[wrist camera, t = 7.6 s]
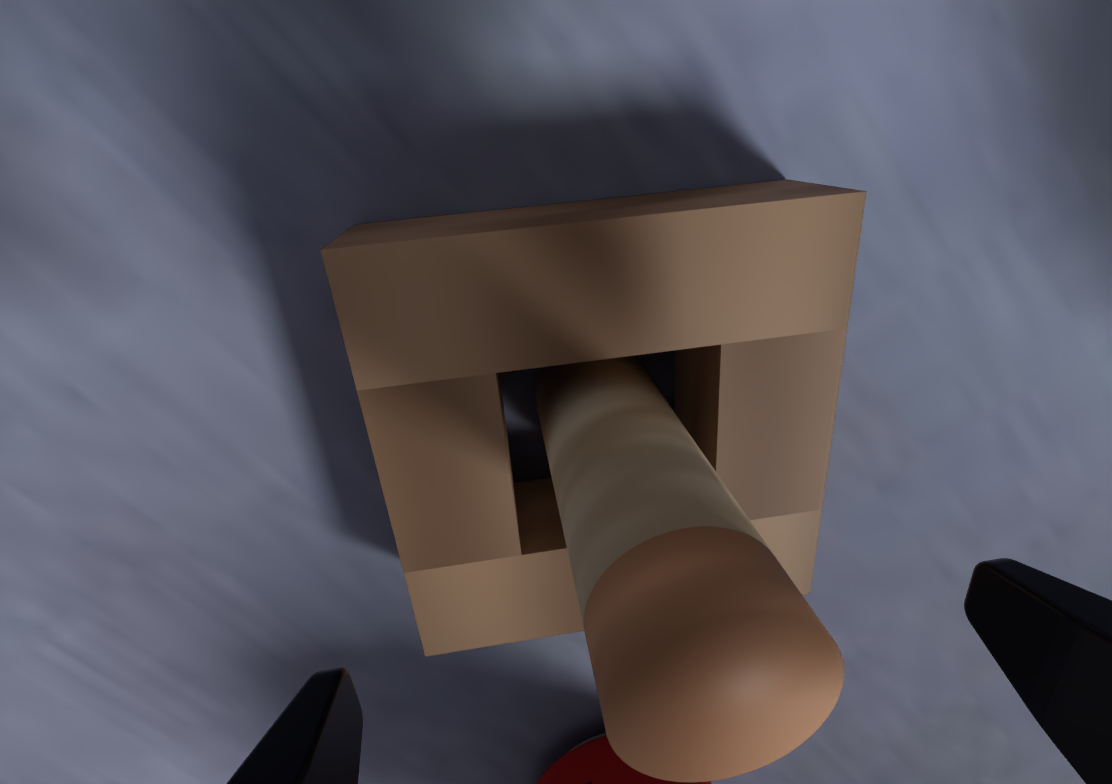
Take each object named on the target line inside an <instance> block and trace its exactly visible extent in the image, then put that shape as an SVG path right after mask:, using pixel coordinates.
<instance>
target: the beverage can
mask: <svg viewBox="0 0 1112 784" xmlns="http://www.w3.org/2000/svg"><path fill="white" fill-rule="evenodd" d="M536 784H711V781H708V782H674V781H666V780H662V779H658V778H654V777H651V776H648V775H645V774H643V773H641V772H639V771H637V770H635V769H633V768H632V767H630V766H629V765H627V764H626V763H625V762H623V761H622V759H621V758H620V757H619V756H618V755H617V754H616V753H615V751H614V750H613V748H612V747H611V745H610V743H609V740H608V738H607V735H606V733H603V734H600V735H597V736H594V737H591V738H589V739H587V740H585V741H583V742H581V743H579V744H578V745H576V746H575V747H573V748H572V749H571V750H569V751H568V752H567V753H566V754H565V755H563V756H562V757H560V758H559V759H558V760H557V761H555V762H554V763H553V764H552V765H551V766H550V767H549V768H548V769H547V770H546V771H545V772H544V773H543V775H542V776H541V777H540V779H539V780H538V782H537V783H536Z"/></svg>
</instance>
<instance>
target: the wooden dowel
mask: <svg viewBox="0 0 1112 784" xmlns="http://www.w3.org/2000/svg"><path fill="white" fill-rule="evenodd" d="M536 405H537V410H538V415H539V420H540V424H541V429H542V434H543V438H544V443H545V448H546V453H547V457H548V462H549V467H550V471H551V476H552V481H553V485H554V490H555V495H556V500H557V504H558V509H559V514H560V518H561V523H562V528H563V532H564V537H565V542H566V547H567V551H568V556H569V561H570V565H571V570H572V575H573V579H574V584H575V589H576V594H577V598H578V603H579V608H580V612H581V617H582V622H583V626H584V631H585V636H586V641H587V645H588V650H589V655H590V659H591V664H592V669H593V673H594V678H595V683H596V688H597V692H598V697H599V702H600V706H601V711H602V716H603V720H604V725H605V730H606V735H607V738H608V740H609V743H610V745H611V747H612V748H613V750H614V751H615V753H616V754H617V755H618V756H619V757H620V758H621V759H622V761H623V762H625V763H626V764H627V765H629V766H630V767H632V768H633V769H635V770H637V771H639V772H641V773H643V774H645V775H648V776H651V777H654V778H658V779H662V780H666V781H674V782H708V781H715V780H722V779H726V778H730V777H735V776H738V775H741V774H745V773H748V772H751V771H753V770H756V769H758V768H761V767H763V766H765V765H767V764H770V763H772V762H774V761H776V760H778V759H779V758H781V757H783V756H784V755H786V754H788V753H789V752H791V751H792V750H794V749H795V748H796V747H798V746H799V745H801V744H802V743H803V742H804V741H805V740H807V739H808V738H809V737H810V736H811V735H812V734H813V733H814V732H815V731H816V730H817V729H818V728H819V727H820V726H821V725H822V724H823V722H824V721H825V720H826V719H827V717H828V716H829V715H830V713H831V711H832V710H833V708H834V707H835V705H836V703H837V700H838V698H839V696H840V693H841V690H842V686H843V681H844V663H843V659H842V655H841V652H840V650H839V648H838V646H837V645H836V643H835V641H834V640H833V638H832V637H831V636H830V634H829V633H828V631H827V630H826V628H825V627H824V626H823V624H822V623H821V621H820V620H819V618H818V617H817V616H816V614H815V613H814V611H813V610H812V608H811V607H810V606H809V604H808V603H807V601H806V600H805V598H804V597H803V596H802V594H801V593H800V591H799V590H798V588H797V587H796V586H795V584H794V583H793V581H792V580H791V578H790V577H789V576H788V574H787V573H786V571H785V570H784V568H783V567H782V566H781V564H780V563H779V561H778V560H777V558H776V557H775V556H774V554H773V553H772V551H771V550H770V548H769V547H768V546H767V544H766V543H765V541H764V540H763V538H762V537H761V536H760V534H759V533H758V531H757V530H756V528H755V527H754V526H753V524H752V523H751V521H750V520H749V518H748V517H747V516H746V514H745V513H744V511H743V510H742V508H741V507H740V506H739V504H738V503H737V501H736V500H735V498H734V497H733V496H732V494H731V493H730V491H729V490H728V488H727V487H726V486H725V484H724V483H723V481H722V480H721V478H720V477H719V476H718V474H717V473H716V471H715V470H714V468H713V467H712V466H711V464H710V463H709V461H708V460H707V458H706V457H705V456H704V454H703V453H702V451H701V450H700V448H699V447H698V446H697V444H696V443H695V441H694V440H693V438H692V437H691V436H690V434H689V433H688V431H687V430H686V428H685V427H684V426H683V424H682V423H681V421H680V420H679V418H678V417H677V416H676V414H675V413H674V411H673V410H672V409H671V407H670V406H669V404H668V403H667V401H666V400H665V399H664V397H663V396H662V394H661V393H660V391H659V390H658V389H657V387H656V386H655V384H654V383H653V381H652V380H651V379H650V377H649V376H648V374H647V373H646V371H645V370H644V369H643V367H642V366H641V364H640V363H639V362H638V360H637V359H636V358H635V357H634V356H626V357H618V358H610V359H602V360H594V361H587V362H579V363H571V364H563V365H555V366H547V367H546V368H545V369H544V371H543V373H542V374H541V376H540V379H539V381H538V385H537V389H536Z"/></svg>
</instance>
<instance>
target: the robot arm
mask: <svg viewBox="0 0 1112 784" xmlns="http://www.w3.org/2000/svg"><path fill="white" fill-rule="evenodd" d="M964 609H965V613H966V616H967V618H968V620H969V622H970V623H971V625H972V626H973V628H974V629H975V631H976V632H977V634H978V635H979V637H980V638H981V640H982V641H983V643H984V644H985V646H986V647H987V648H988V650H989V651H990V653H991V654H992V656H993V657H994V659H995V660H996V662H997V663H998V665H999V666H1000V668H1001V669H1002V671H1003V672H1004V674H1005V675H1006V677H1007V678H1008V680H1009V681H1010V683H1011V684H1012V686H1013V687H1014V688H1015V690H1016V691H1017V693H1018V694H1019V696H1020V697H1021V699H1022V700H1023V702H1024V703H1025V705H1026V706H1027V708H1028V709H1029V711H1030V712H1031V713H1032V715H1033V716H1034V718H1035V719H1036V720H1037V722H1038V723H1039V725H1040V726H1041V727H1042V729H1043V730H1044V731H1045V732H1046V734H1047V735H1048V736H1049V738H1050V739H1051V740H1052V742H1053V743H1054V744H1055V745H1056V747H1057V748H1058V749H1059V750H1060V752H1061V753H1062V754H1063V755H1064V757H1065V758H1066V759H1067V760H1068V762H1069V763H1070V764H1071V765H1072V767H1073V768H1074V769H1075V770H1076V772H1077V773H1078V774H1079V775H1080V777H1081V778H1082V779H1083V780H1084V782H1085V783H1086V784H1112V600H1109V599H1107V598H1104V597H1102V596H1099V595H1097V594H1095V593H1092V592H1090V591H1087V590H1085V589H1083V588H1080V587H1078V586H1075V585H1073V584H1071V583H1068V582H1066V581H1063V580H1061V579H1059V578H1056V577H1054V576H1051V575H1049V574H1046V573H1044V572H1042V571H1039V570H1037V569H1034V568H1032V567H1030V566H1027V565H1025V564H1022V563H1020V562H1018V561H1015V560H1012V559H1008V558H1001V559H995V560H989V561H983V562H980V563H978V564H977V565H976V566H975V568H974V571H973V574H972V577H971V581H970V584H969V588H968V591H967V594H966V598H965V602H964ZM362 728H363V717H362V709H361V705H360V702H359V700H358V697H357V694H356V691H355V688H354V685H353V682H352V679H351V676H350V674H349V672H348V671H347V670H346V669H345V668H337V669H331V670H325V671H319V672H316V673H315V674H313V675H312V676H311V677H310V678H309V679H308V680H307V682H306V683H305V684H304V685H303V687H302V688H301V689H300V691H299V692H298V693H297V694H296V696H295V697H294V698H293V700H292V701H291V702H290V703H289V705H288V706H287V707H286V708H285V710H284V711H283V712H282V714H281V715H280V716H279V717H278V719H277V720H276V721H275V722H274V724H273V725H272V726H271V728H270V729H269V730H268V731H267V733H266V734H265V735H264V737H263V738H262V739H261V740H260V742H259V743H258V744H257V745H256V747H255V748H254V749H253V751H252V752H251V753H250V754H249V756H248V757H247V758H246V759H245V761H244V762H243V763H242V765H241V766H240V767H239V768H238V770H237V771H236V772H235V773H234V775H233V776H232V777H231V779H230V780H229V781H228V782H227V784H358V775H359V764H360V752H361V740H362Z"/></svg>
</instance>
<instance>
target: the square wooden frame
mask: <svg viewBox="0 0 1112 784" xmlns="http://www.w3.org/2000/svg"><path fill="white" fill-rule="evenodd" d="M865 197H866V191H861V190H854V189H847V188H841V187H834V186H827V185H821V184H814V183H807V182H801V181H794V180H778V181H768V182H759V183H749V184H739V185H730V186H720V187H711V188H701V189H692V190H682V191H672V192H663V193H653V194H644V195H634V196H624V197H615V198H605V199H596V200H586V201H577V202H567V203H557V204H548V205H538V206H529V207H519V208H509V209H500V210H490V211H481V212H471V213H462V214H452V215H442V216H433V217H423V218H414V219H404V220H395V221H385V222H375V223H366V224H356V225H353V226H352V227H351V228H349V229H348V230H347V231H345V232H344V233H342V234H341V235H340V236H338V237H337V238H336V239H334V240H333V241H332V242H330V243H329V244H328V245H326V246H325V247H324V248H322V249H321V254H322V258H323V262H324V266H325V270H326V274H327V277H328V281H329V285H330V289H331V293H332V297H333V301H334V305H335V308H336V312H337V316H338V320H339V324H340V328H341V332H342V336H343V339H344V343H345V347H346V351H347V355H348V359H349V363H350V367H351V370H352V374H353V378H354V382H355V386H356V390H357V394H358V398H359V401H360V405H361V409H362V413H363V417H364V421H365V425H366V429H367V433H368V436H369V440H370V444H371V448H372V452H373V456H374V460H375V464H376V467H377V471H378V475H379V479H380V483H381V487H382V491H383V495H384V498H385V502H386V506H387V510H388V514H389V518H390V522H391V526H392V529H393V533H394V537H395V541H396V545H397V549H398V553H399V557H400V560H401V564H402V568H403V572H404V576H405V580H406V584H407V588H408V592H409V595H410V599H411V603H412V607H413V611H414V615H415V619H416V623H417V626H418V630H419V634H420V638H421V642H422V646H423V650H424V654H425V657H426V656H433V655H439V654H445V653H451V652H457V651H463V650H469V649H475V648H481V647H487V646H493V645H500V644H506V643H512V642H518V641H524V640H530V639H536V638H542V637H548V636H554V635H560V634H567V633H573V632H579V631H584V626H583V622H582V617H581V612H580V608H579V603H578V598H577V594H576V589H575V584H574V579H573V575H572V570H571V565H570V561H569V556H568V551H567V547H566V542H565V537H564V532H563V528H562V523H561V518H560V514H559V509H558V504H557V500H556V495H555V490H554V485H553V481H552V478H546V479H539V480H532V481H525V482H518V483H514V479H513V472H512V465H511V458H510V450H509V443H508V436H507V429H506V421H505V414H504V407H503V400H502V393H501V385H500V378H499V373H500V372H508V371H515V370H523V369H531V368H539V367H547V366H555V365H563V364H571V363H579V362H587V361H594V360H602V359H610V358H618V357H626V356H634V355H642V354H650V353H658V352H665V351H673V350H675V414H676V416H677V417H678V418H679V420H680V421H681V423H682V424H683V426H684V427H685V428H686V430H687V431H688V433H689V434H690V436H691V437H692V438H693V440H694V441H695V443H696V444H697V446H698V447H699V448H700V450H701V451H702V453H703V454H704V456H705V457H706V458H707V460H708V461H709V463H710V464H711V466H712V467H713V468H714V470H715V471H716V473H717V474H718V476H719V477H720V478H721V480H722V481H723V483H724V484H725V486H726V487H727V488H728V490H729V491H730V493H731V494H732V496H733V497H734V498H735V500H736V501H737V503H738V504H739V506H740V507H741V508H742V510H743V511H744V513H745V514H746V516H747V517H748V518H749V520H750V521H751V523H752V524H753V526H754V527H755V528H756V530H757V531H758V533H759V534H760V536H761V537H762V538H763V540H764V541H765V543H766V544H767V546H768V547H769V548H770V550H771V551H772V553H773V554H774V556H775V557H776V558H777V560H778V561H779V563H780V564H781V566H782V567H783V568H784V570H785V571H786V573H787V574H788V576H789V577H790V578H791V580H792V581H793V583H794V584H795V586H796V587H797V588H798V590H799V591H800V593H801V594H802V595H804V594H810V591H811V584H812V577H813V570H814V563H815V556H816V549H817V541H818V534H819V527H820V520H821V513H822V506H823V498H824V491H825V484H826V477H827V470H828V463H829V455H830V448H831V441H832V434H833V427H834V420H835V412H836V405H837V398H838V391H839V384H840V377H841V369H842V362H843V355H844V348H845V341H846V334H847V326H848V319H849V312H850V305H851V298H852V291H853V283H854V276H855V269H856V262H857V255H858V248H859V240H860V233H861V226H862V219H863V212H864V205H865Z"/></svg>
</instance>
